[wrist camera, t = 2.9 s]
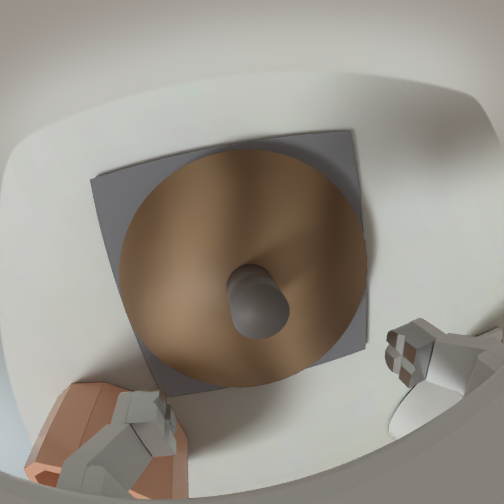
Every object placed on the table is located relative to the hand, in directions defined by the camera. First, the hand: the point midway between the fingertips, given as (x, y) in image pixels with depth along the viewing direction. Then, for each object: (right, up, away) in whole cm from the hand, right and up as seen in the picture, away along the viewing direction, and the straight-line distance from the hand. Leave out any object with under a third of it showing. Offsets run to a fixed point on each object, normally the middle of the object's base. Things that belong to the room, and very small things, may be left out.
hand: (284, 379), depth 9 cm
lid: (-1, +2, +10) cm, 11 cm away
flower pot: (-15, -14, +13) cm, 24 cm away
